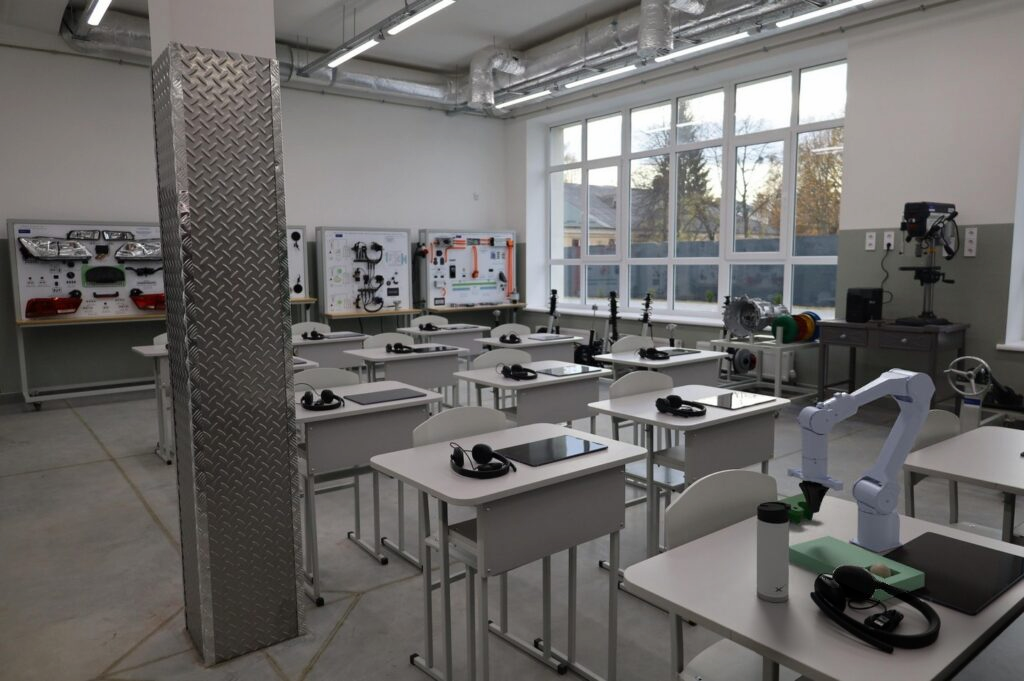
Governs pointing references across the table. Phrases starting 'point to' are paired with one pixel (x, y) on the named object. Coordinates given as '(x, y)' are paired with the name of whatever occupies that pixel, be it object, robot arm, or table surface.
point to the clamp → (798, 508)
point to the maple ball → (880, 570)
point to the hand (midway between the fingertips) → (813, 511)
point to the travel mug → (773, 551)
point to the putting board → (853, 562)
